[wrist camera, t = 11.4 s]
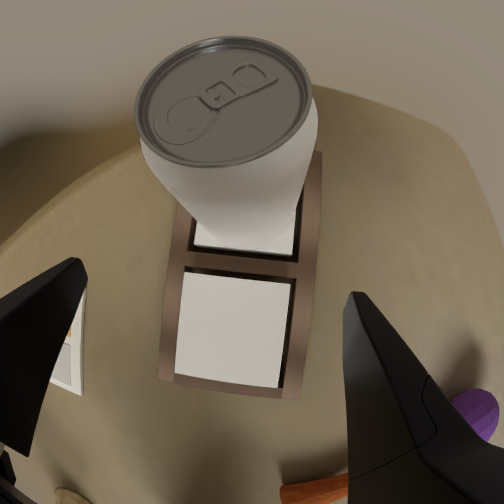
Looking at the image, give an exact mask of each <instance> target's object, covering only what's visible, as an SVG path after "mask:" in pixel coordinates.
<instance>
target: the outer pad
mask: <svg viewBox="0 0 504 504" xmlns="http://www.w3.org/2000/svg"><path fill="white" fill-rule="evenodd" d="M295 213H296V209H295V212H294V215H293V217H292V220H291V222H290V224H289V226H288V227H287V229H286V230H285V231H284V233H283V234H282V235H281V236H280V237H279V238H278V239H276V240H275V241H273V242H272V243H270V244H268V245H266V246H264V247H261V248H257V249H250V250H242V249H235V248H231V247H228V246H226V245H224V244H222V243H221V242H219V241H218V240H216V239H215V238H214V237H213V236H212V235H211V234H210V233H209V232H208V231H206V230H205V228H204V227H203V226H202V225H201V224H200V223H199V222H198V221H197V226H196V233H195V240H194V245H196V246H197V247H199V248H208V249H217V250H227V251H236V252H246V253H255V254H265V255H274V256H284V257H291V255H292V248H293V237H294V226H295Z"/></svg>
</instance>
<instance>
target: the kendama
mask: <svg viewBox="0 0 504 504" xmlns="http://www.w3.org/2000/svg"><path fill="white" fill-rule="evenodd" d="M451 403H452V404H453V406H454V407H455V408H456V409H457V410H458V411H459V413H460V414H461V415H462V416H463V417H464V419H465V420H466V421H467V422H468V423H469V424H470V426H471V427H472V428H473V429H474V430H475V432H476V433H477V434H478V435H479V436H480V437H481V438H482V439H483V440H485V441H486V442H487V441H488V440H489V439H490V437H491V436H492V434H493V433H494V431H495V429H496V427H497V425H498V420H499V406H498V402H497V401H496V399H495V397H494V396H493V395H492V394H491V393H490V392H488V391H485V390H482V389H472V390H467V391H463V392H462V393H460V394H459V395H457V396H456V397H454V398H453V399H452V400H451ZM346 496H348V473H345V474H341V475H337V476H333V477H329V478H324V479H319V480H314V481H309V482H303V483H297V484H291V485H284V486H281V488H280V498H281V503H282V504H329V503H331V502H334V501H336V500H339V499H341V498H343V497H346Z"/></svg>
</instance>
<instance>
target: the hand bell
mask: <svg viewBox="0 0 504 504" xmlns="http://www.w3.org/2000/svg"><path fill="white" fill-rule="evenodd" d="M55 501H56V504H91V503H90V502H89V501H88V500H86V499H85V498H83V497H82V496H80V495H79V494H77V493H75V492H73V491H71V490H69V489H65V488H59V489H57V490H56V491H55Z"/></svg>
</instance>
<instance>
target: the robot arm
mask: <svg viewBox="0 0 504 504" xmlns="http://www.w3.org/2000/svg"><path fill="white" fill-rule="evenodd" d="M87 281H88V276H87V273H86V271H85V268H84V265H83V263H82V261H81V259H79V258H75V257H70V258H68V259H66V260H64V261H63V262H61V263H59V264H57V265H56V266H54V267H52V268H50V269H48V270H47V271H45V272H43V273H42V274H40V275H38V276H36V277H35V278H33V279H31V280H30V281H28V282H26V283H25V284H23V285H21V286H20V287H18V288H17V289H15V290H13V291H12V292H10V293H9V294H7V295H5V296H4V297H2V298H1V299H0V504H37V503H35V502H34V501H33V500H31V499H30V498H28V497H27V496H26V495H24V494H23V493H22V492H20V491H19V490H18V489H16V488H15V487H14V485H15V481H16V477H15V474H14V471H13V467H12V464H11V461H10V457H9V454H8V452H6V451H5V450H4V447H5V445H6V446H8V447H10V448H11V449H13V450H15V451H17V452H18V453H20V454H22V455H24V456H26V457H29V454H30V449H31V445H32V440H33V436H34V432H35V428H36V424H37V421H38V417H39V413H40V412H39V411H40V409H41V406H42V403H43V399H44V396H45V393H46V390H47V387H48V384H49V381H50V378H51V375H52V372H53V370H54V367H55V364H56V362H57V359H58V356H59V354H60V351H61V349H62V346H63V344H64V341H65V339H66V336H67V334H68V332H69V329H70V327H71V325H72V322H73V320H74V318H75V315H76V312H77V309H78V306H79V303H80V301H81V298H82V295H83V292H84V290H85V287H86V284H87ZM343 372H344V384H345V398H346V414H347V435H348V504H504V448H501V447H498V446H495V445H492V444H490V443H488V442H486V441H485V440H483V439H482V438H481V437H480V436H479V435H478V434H477V433H476V432H475V430H474V429H473V428H472V427H471V426H470V424H469V423H468V422H467V421H466V420H465V419H464V417H463V416H462V415H461V414H460V413H459V411H458V410H457V409H456V408H455V407H454V406H453V404H452V403H451V402H450V401H449V399H448V398H447V397H446V396H445V395H444V393H443V392H442V391H441V389H440V388H439V387H438V385H437V384H436V383H435V381H434V380H433V379H432V377H431V376H430V375H429V374H428V372H427V371H426V369H425V368H424V367H423V365H422V364H421V363H420V361H419V360H418V359H417V357H416V356H415V355H414V353H413V352H412V351H411V349H410V348H409V347H408V346H407V344H406V343H405V342H404V340H403V339H402V338H401V337H400V335H399V334H398V333H397V331H396V330H395V329H394V328H393V326H392V325H391V324H390V323H389V321H388V320H387V319H386V318H385V317H384V315H383V314H382V313H381V312H380V310H379V309H378V308H377V307H376V306H375V304H374V303H373V302H372V301H371V299H370V298H369V297H368V296H367V295H366V294H365V293H364V292H357V291H353V292H351V293H350V295H349V298H348V300H347V303H346V306H345V308H344V312H343Z"/></svg>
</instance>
